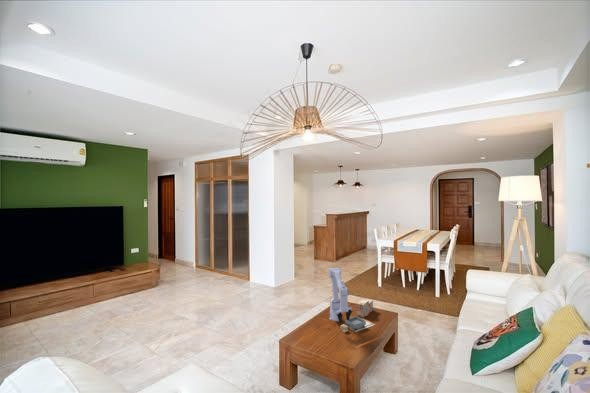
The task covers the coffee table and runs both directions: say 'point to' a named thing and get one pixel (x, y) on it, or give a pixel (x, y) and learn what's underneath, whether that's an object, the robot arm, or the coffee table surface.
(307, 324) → the coffee table surface
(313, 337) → the coffee table surface
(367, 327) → the track board
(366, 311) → the multicoloured piece
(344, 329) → the maple block
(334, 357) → the coffee table surface
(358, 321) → the grey storage bin
